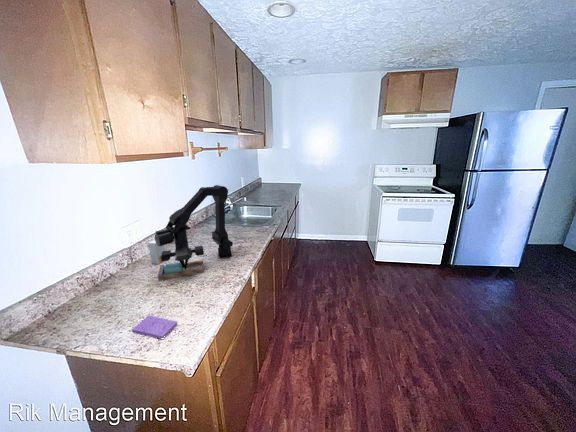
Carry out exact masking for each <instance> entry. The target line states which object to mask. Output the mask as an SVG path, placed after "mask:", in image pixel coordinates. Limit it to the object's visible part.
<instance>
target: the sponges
mask: <svg viewBox="0 0 576 432" xmlns="http://www.w3.org/2000/svg"><path fill="white" fill-rule="evenodd" d="M177 326H178V321H176V320H173V319H172V320H171V319H167V318H163V317H159V316H153V315H150V314H148V315H147V316H146V317H145V318H143V319H142V320H141V321H140V322H138V324H136V326H134V327H133V328H132V329H131V330H132V333H135V332H136V333H135V334H139V333H140V334H139V335H143V334H145V335H144V336H147V335H150V336H149V337H151V336H155V337H160V338H163V337H164V336H166V335H167V334H168V333H169V332H170V331H171V332H172V331H173V330H174V329H175V328H176V327H177ZM172 329H173V330H172ZM171 332H170V333H171ZM170 333H169V334H170ZM169 334H168V335H169ZM168 335H167V336H168ZM167 336H166V337H167ZM155 337H154V338H155Z"/></svg>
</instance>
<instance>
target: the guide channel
mask: <svg viewBox="0 0 576 432" xmlns="http://www.w3.org/2000/svg"><path fill="white" fill-rule="evenodd" d="M203 265H204V260H203V259H202V260H196V261H195V260H194V261H188V263H187V268H191V267H196V266H197V267H198V266H203ZM164 268H165V264H161V265H160V266H159V270H158V273H157V280H158V282H161V281H165V280H170V279H175V278H176V279H177V278H182V277H186V276H191V275H197V274H201V273H205V268H204V267H200V268H193V269H188V270H187V269H186V270H182V272H176V273H170V274H165V272H164ZM182 269H184V267H183V266H182Z"/></svg>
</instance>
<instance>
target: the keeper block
mask: <svg viewBox="0 0 576 432" xmlns="http://www.w3.org/2000/svg"><path fill="white" fill-rule="evenodd" d="M164 267H165V268H164V272H165V273H164V275H165V274H170V273H176V272H182V271H184V270H183V269H184V268H182V264H181V263H180V262H174V263H167V264H166V263H165V265H164Z"/></svg>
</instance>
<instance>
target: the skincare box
mask: <svg viewBox="0 0 576 432" xmlns="http://www.w3.org/2000/svg"><path fill="white" fill-rule="evenodd" d="M148 249H149V255H150V259H151V260H150V261H151V264H152V265H153V264H154V265H160V264H161V263H163V262H164V261H161V254H162V252H163V251H166V249H165V245H163V246H157V244H156V241H155V239H152V241H150V242H148Z"/></svg>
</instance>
